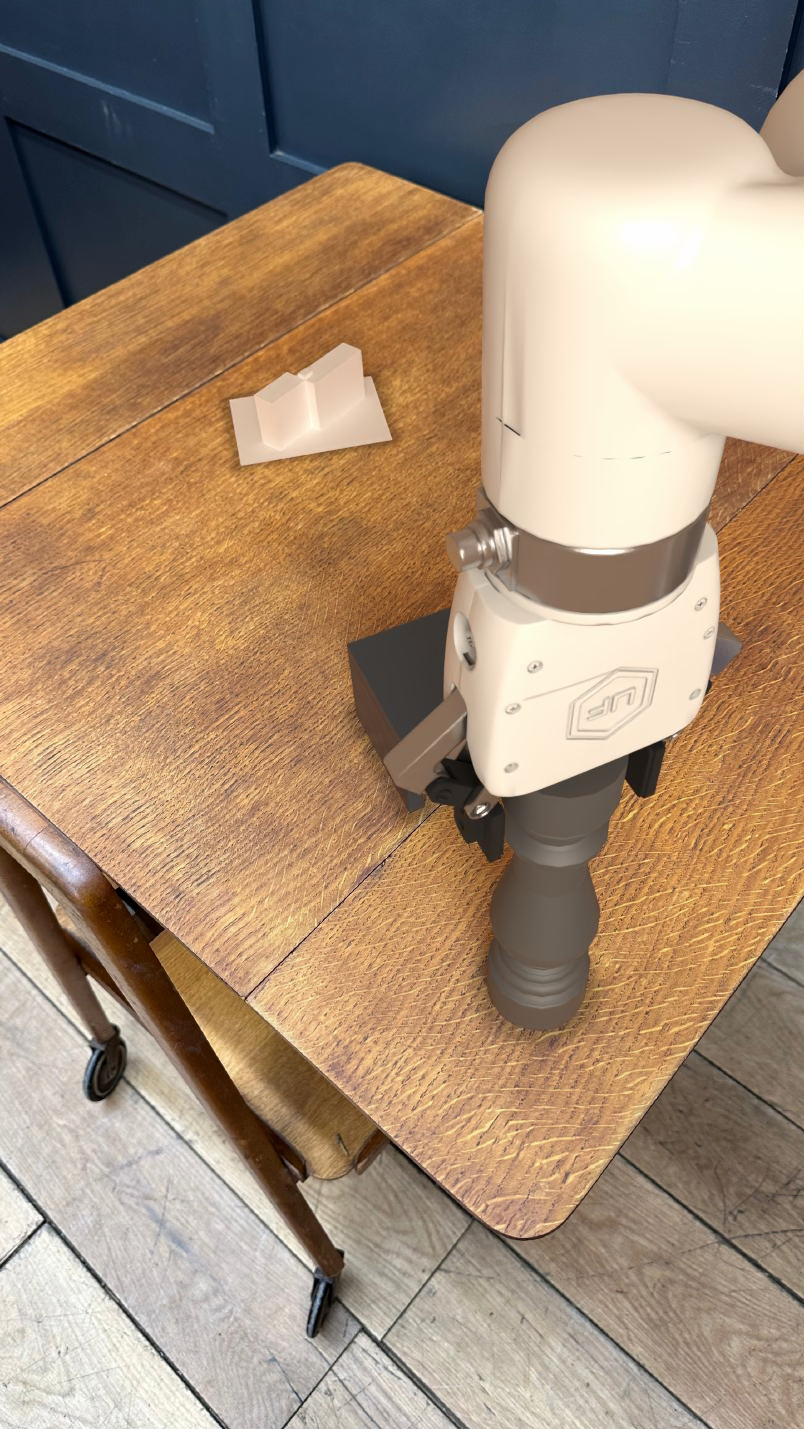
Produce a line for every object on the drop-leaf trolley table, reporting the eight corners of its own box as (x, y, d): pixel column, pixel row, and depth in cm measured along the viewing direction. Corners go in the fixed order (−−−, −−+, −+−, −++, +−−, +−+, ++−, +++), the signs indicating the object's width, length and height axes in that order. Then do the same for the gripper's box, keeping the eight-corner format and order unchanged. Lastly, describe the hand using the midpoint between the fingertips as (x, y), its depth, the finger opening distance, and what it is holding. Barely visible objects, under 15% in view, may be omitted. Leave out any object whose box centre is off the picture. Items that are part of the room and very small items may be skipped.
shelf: (584, 628, 83) (594, 554, 77) (652, 715, 77) (668, 643, 71) (356, 714, 79) (346, 643, 72) (409, 813, 73) (403, 745, 67)
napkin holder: (370, 375, 107) (366, 324, 102) (394, 439, 100) (390, 388, 95) (227, 400, 105) (216, 349, 101) (241, 467, 98) (230, 416, 94)
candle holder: (603, 1008, 63) (663, 774, 44) (512, 1046, 62) (531, 823, 42) (557, 924, 67) (593, 673, 47) (470, 958, 66) (470, 716, 46)
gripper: (401, 679, 31) (422, 943, 45) (874, 504, 35) (758, 798, 48) (313, 530, 35) (357, 812, 49) (741, 389, 39) (670, 688, 53)
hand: (557, 804), depth 49 cm, fingers open, 7 cm apart
